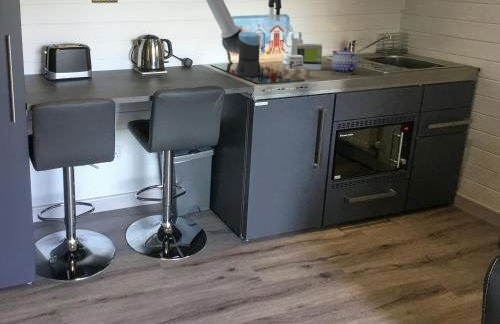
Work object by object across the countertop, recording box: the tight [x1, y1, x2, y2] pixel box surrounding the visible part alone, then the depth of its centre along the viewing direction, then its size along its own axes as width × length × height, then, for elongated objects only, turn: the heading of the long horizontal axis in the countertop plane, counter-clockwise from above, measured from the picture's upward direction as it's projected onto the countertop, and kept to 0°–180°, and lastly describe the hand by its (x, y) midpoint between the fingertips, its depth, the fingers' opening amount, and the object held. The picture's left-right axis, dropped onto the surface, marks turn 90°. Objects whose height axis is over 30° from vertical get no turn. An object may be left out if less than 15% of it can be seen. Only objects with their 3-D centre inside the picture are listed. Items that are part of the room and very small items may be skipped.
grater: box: [282, 31, 304, 65], centre depth 365 cm, size 10×10×20 cm
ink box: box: [285, 55, 303, 69], centre depth 325 cm, size 9×5×12 cm, turn 103°
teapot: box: [331, 46, 359, 75], centre depth 340 cm, size 25×15×15 cm, turn 24°
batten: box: [281, 68, 311, 80], centre depth 320 cm, size 15×3×5 cm, turn 103°
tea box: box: [297, 43, 323, 71], centre depth 350 cm, size 15×10×15 cm, turn 84°
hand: (274, 19), depth 342 cm, fingers open, 13 cm apart
